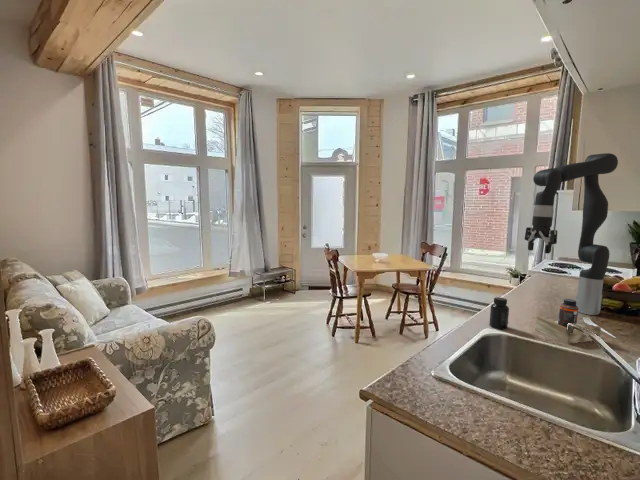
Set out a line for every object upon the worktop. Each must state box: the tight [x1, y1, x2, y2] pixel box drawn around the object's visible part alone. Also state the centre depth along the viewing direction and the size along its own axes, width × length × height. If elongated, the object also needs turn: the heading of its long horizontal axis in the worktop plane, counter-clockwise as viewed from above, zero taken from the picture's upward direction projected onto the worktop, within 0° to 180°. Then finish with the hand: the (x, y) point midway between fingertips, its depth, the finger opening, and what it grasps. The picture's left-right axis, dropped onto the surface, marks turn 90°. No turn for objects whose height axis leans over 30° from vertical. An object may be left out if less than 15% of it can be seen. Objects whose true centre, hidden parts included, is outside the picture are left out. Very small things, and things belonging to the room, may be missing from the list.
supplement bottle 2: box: [557, 298, 579, 328], centre depth 138 cm, size 6×6×11 cm
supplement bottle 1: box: [488, 296, 510, 330], centre depth 145 cm, size 7×7×12 cm
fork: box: [582, 316, 617, 339], centre depth 148 cm, size 3×20×2 cm, turn 172°
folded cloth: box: [534, 316, 602, 345], centre depth 139 cm, size 16×14×5 cm
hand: (538, 251), depth 157 cm, fingers open, 8 cm apart
